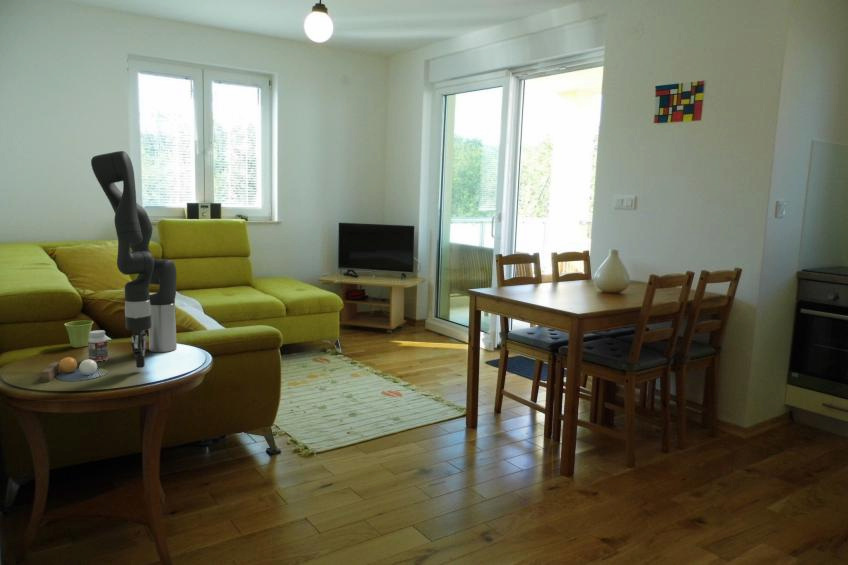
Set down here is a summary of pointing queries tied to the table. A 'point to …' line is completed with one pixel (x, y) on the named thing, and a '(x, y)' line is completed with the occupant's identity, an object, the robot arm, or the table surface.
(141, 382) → the table surface
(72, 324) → the plant pot
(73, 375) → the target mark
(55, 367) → the stopper wall
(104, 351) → the pill bottle
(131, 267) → the robot arm
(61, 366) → the object ball
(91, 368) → the cue ball
